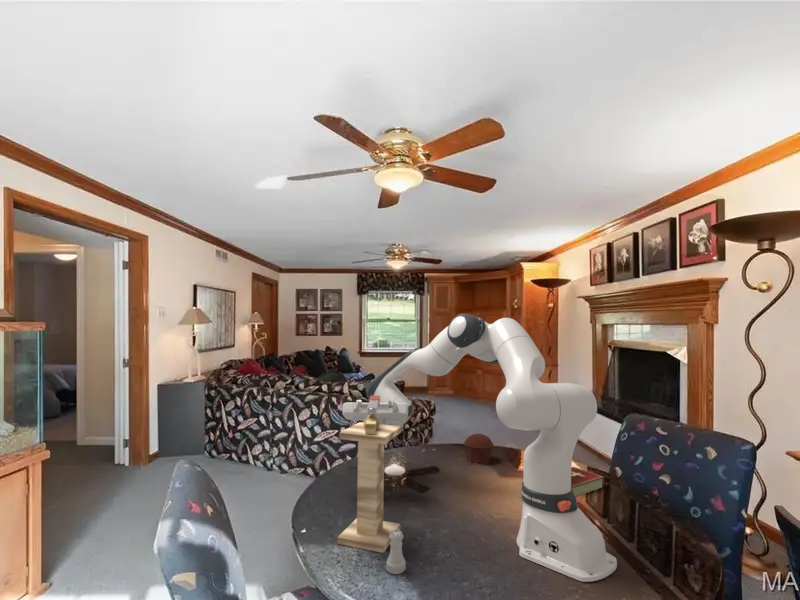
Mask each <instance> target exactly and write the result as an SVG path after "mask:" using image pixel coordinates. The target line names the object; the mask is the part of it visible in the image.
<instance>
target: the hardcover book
mask: <svg viewBox="0 0 800 600" xmlns="http://www.w3.org/2000/svg"><path fill="white" fill-rule="evenodd" d="M604 478H605V477H604V476H602V475H600V474H597V473H594V472H591V471H587V470H585V469H582V468H578V467H576V466H571V488H572V489H573V492H574V495H575V497H579V496H582V495H584V494H586V493H591V492H592V491H595V490H599V489H601V488H603V479H604Z"/></svg>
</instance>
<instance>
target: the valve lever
mask: <svg viewBox="0 0 800 600" xmlns="http://www.w3.org/2000/svg"><path fill="white" fill-rule="evenodd" d="M368 401H369V402H368V403H369V404H368V407H367V414H368V415H376V414H377V410H378V406H379V405H380V396H370V399H368Z"/></svg>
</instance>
